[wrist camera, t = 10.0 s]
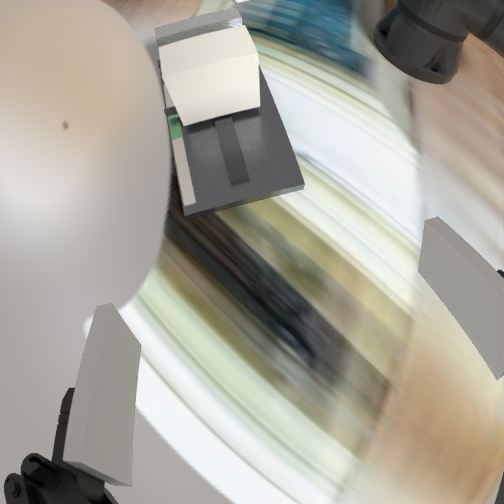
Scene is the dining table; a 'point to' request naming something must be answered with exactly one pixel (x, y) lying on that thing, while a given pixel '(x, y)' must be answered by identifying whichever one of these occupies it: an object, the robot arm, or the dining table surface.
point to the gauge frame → (228, 140)
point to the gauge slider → (211, 74)
